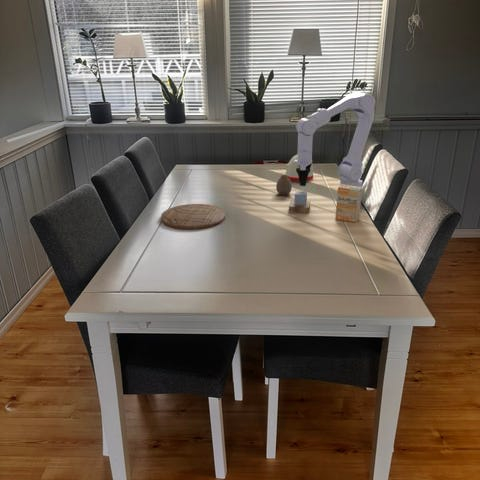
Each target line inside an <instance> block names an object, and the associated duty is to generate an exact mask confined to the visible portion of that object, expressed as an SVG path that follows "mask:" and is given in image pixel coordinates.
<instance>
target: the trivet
mask: <svg viewBox="0 0 480 480" xmlns="http://www.w3.org/2000/svg"><path fill="white" fill-rule="evenodd" d="M160 216H161V217H160V221H161V223H162V225H164V226H165V227H167V228H169V229H170V228H171V229H174V230H179V231H180V230H181V231H198V230H203V229H208V228H209V229H210V228H213V227H215V226H218V225H219V224H222V223H223V222H224V221H225V219H226V212H225V210H224V209H222V207H219V206H217V205H212V204H207V203H186V204H182V205H181V204H180V205H177V206H176V205H175V206H173V207H170V208H168V209H165V211H163V212H162V213H161V215H160Z"/></svg>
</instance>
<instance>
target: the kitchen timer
mask: <svg viewBox="0 0 480 480" xmlns="http://www.w3.org/2000/svg"><path fill="white" fill-rule="evenodd" d="M297 155H298V153H297V154H295V155H294V156H292V157H291V158H290V160H289V162H288V163H287V164H286V168H285V175H287V177H288V178H289V180H290V181H295V182H299V176H298V174H297V172H296V168H299V165H298V163H294V161H295V160H297ZM313 167H314V166H313V164H312V165H311V167H310V169H311V170H310V172H309V174H308V178H307V181H311V180H313V179H314V169H313Z"/></svg>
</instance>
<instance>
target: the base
mask: <svg viewBox="0 0 480 480" xmlns="http://www.w3.org/2000/svg"><path fill="white" fill-rule="evenodd" d="M294 201H295V199H293V200H292V199H291V200H290V201H289V205H288V213H291V214H292V213H294V214H305V215H306V214H308V215H309V213H310V209H311V200H307V203H306V206H305V205H294Z"/></svg>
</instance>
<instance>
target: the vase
mask: <svg viewBox="0 0 480 480" xmlns="http://www.w3.org/2000/svg"><path fill="white" fill-rule="evenodd" d="M291 181H292V180H289V178H288V177H287V175H286V174H281V175H280V177H279V179H278V180H277V181H276V184H275V185H276V187H275V188H276V192H277V193H278V195H280V196H289V194H290V193H291V192H292V189H293V185H292V182H291Z"/></svg>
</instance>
